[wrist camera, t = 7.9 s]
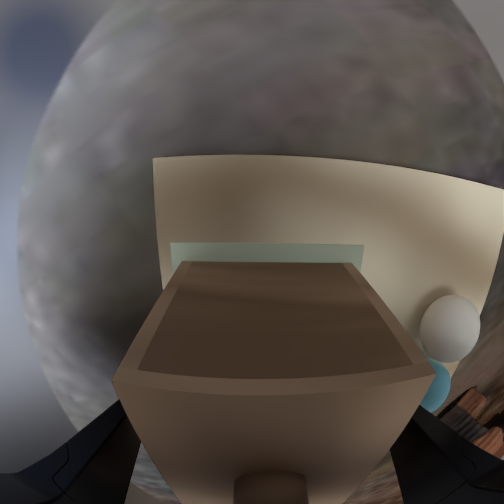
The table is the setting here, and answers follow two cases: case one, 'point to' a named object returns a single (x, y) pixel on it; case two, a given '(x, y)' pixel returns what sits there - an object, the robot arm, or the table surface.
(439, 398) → the marble teal
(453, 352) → the marble ivory
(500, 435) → the pottery mug
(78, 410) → the table surface
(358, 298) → the walnut cover
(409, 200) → the serving board
